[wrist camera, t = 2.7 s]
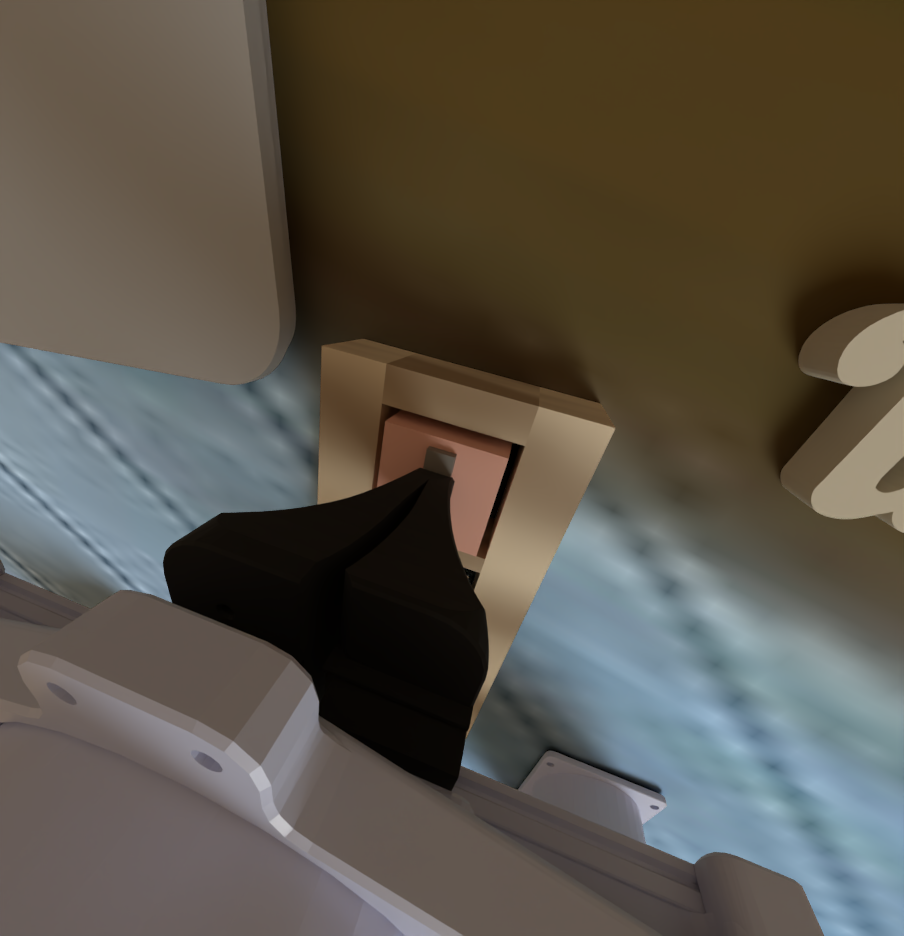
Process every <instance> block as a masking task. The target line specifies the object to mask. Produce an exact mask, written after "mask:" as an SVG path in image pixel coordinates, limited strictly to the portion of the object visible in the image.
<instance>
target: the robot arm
mask: <svg viewBox="0 0 904 936" xmlns="http://www.w3.org/2000/svg"><path fill="white" fill-rule="evenodd" d="M454 483H455V481H454V479H453V478H452V477H448V476H445V475H441V474H438V473H435V472H432V471H429V470H426V469H423V468H418V469H416V470H414V471H412V472H410V473H408V474H406V475H404V476H402V477H400V478H397V479H395V480H393V481H391V482H389V483H387V484H384V485H382V486H379V487H377V488H374V489H371V490H369V491H366V492H364V493H361V494H358V495H355V496H352V497H348V498H344V499H341V500H337V501H333V502H328V503H323V504H318V505H313V506H308V507H302V508H294V509H286V510H276V511H264V512H238V513H221V514H219V515H217V516H216V517H214V518H212V519H211V520H209V521H208V522H206V523H205V524H203V525H201V526H200V527H198V528H197V529H195V530H193V531H192V532H190V533H189V534H187V535H186V536H184V537H182V538H181V539H179V540H178V541H176V542H175V543H173V544H172V545H171V546H170V547H169V548H168V549H167V550H166V552H165V556H164V560H163V567H164V575H165V578H166V582H167V586H168V589H169V593H170V596H171V600H172V603H171V602H169V601H166V600H164V599H161V598H159V597H156V596H154V595H151V594H146V593H141V592H136V591H132V590H120V591H118V592H116V593H115V594H113V595H112V596H110V597H108V598H107V599H105V600H104V601H102V602H101V603H99V604H98V605H96V606H95V607H93V608H92V609H90V608H87V607H85V606H83V605H80V604H78V603H76V602H73V601H71V600H68V599H66V598H64V597H61V596H59V595H57V594H54V593H52V592H50V591H47V590H45V589H42V588H40V587H38V586H35V585H33V584H31V583H28V582H26V581H24V580H21V579H19V578H17V577H14V576H12V575H9V574H7V573H5V568H4V566H3V564H2V562H1V560H0V936H824V934H823V932H822V930H821V928H820V926H819V923H818V921H817V919H816V917H815V914H814V912H813V910H812V908H811V905H810V903H809V901H808V899H807V896H806V894H805V892H804V890H803V888H802V886H801V885H800V884H799V883H797V882H796V881H795V880H793V879H791V878H788V877H786V876H784V875H781V874H779V873H776V872H774V871H771V870H769V869H767V868H764V867H762V866H759V865H757V864H755V863H752V862H750V861H747V860H745V859H743V858H740V857H738V856H735V855H731V854H728V853H719V852H713V853H709V854H706V855H704V856H702V857H701V858H700V859H699V860H698V861H697V862H696V863H695V864H691V863H689V862H687V861H684V860H682V859H679V858H677V857H675V856H672V855H670V854H668V853H665V852H663V851H661V850H658V849H656V848H654V847H651V846H649V845H646V842H645V836H644V831H643V826H642V825H643V824H644V823H645V822H647V821H648V820H649V819H651V818H652V817H653V816H655V815H656V814H657V813H659V812H660V811H661V810H663V809H664V808H665V807H666V806H667V804H666V800H665V797H664V796H663V795H661V794H659V793H656V792H654V791H651V790H649V789H646V788H644V787H641V786H639V785H636V784H634V783H631V782H629V781H627V780H624V779H622V778H619V777H617V776H614V775H612V774H609V773H607V772H604V771H602V770H599V769H597V768H594V767H592V766H589V765H587V764H585V763H582V762H580V761H577V760H575V759H572V758H570V757H567V756H565V755H562V754H560V753H557V752H555V751H547V752H545V754H544V755H543V756H542V758H541V759H540V760H539V762H538V763H537V764H536V766H535V767H534V768H533V770H532V771H531V773H530V774H529V775H528V777H527V778H526V779H525V781H524V782H523V783H522V785H521V786H520V787H519V789H518V790H517V789H514V788H512V787H510V786H507V785H505V784H503V783H500V782H498V781H495V780H493V779H491V778H488V777H486V776H484V775H481V774H479V773H477V772H474V771H472V770H470V769H467V768H465V767H462V766H461V761H462V756H463V750H464V745H465V739H466V734H467V731H468V729H469V726H470V723H471V717H472V711H473V706H474V703H475V701H476V699H477V697H478V695H479V692H480V690H481V688H482V686H483V684H484V682H485V679H486V676H487V672H488V665H489V638H488V627H487V619H486V612H485V609H484V607H483V606H482V604H481V602H480V601H479V599H478V597H477V595H476V594H475V592H474V590H473V588H472V586H471V584H470V582H469V580H468V577H467V575H466V573H465V570H464V568H463V565H462V562H461V560H460V557H459V554H458V551H457V547H456V544H455V539H454V535H453V530H452V523H451V513H450V498H451V494H452V490H453V486H454Z"/></svg>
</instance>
